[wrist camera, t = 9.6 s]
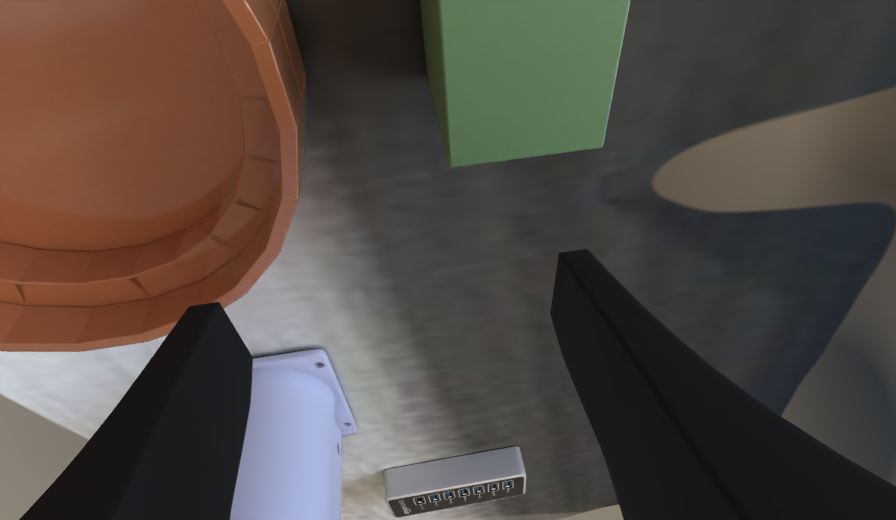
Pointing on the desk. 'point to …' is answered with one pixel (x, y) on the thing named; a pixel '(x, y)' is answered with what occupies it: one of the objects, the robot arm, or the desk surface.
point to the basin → (141, 162)
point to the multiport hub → (454, 482)
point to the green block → (521, 74)
